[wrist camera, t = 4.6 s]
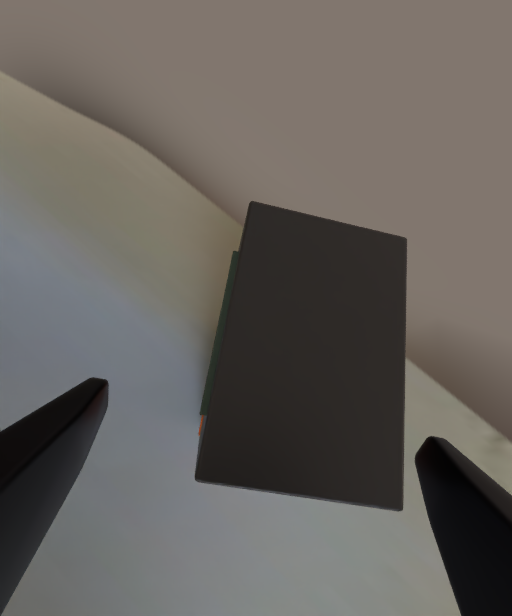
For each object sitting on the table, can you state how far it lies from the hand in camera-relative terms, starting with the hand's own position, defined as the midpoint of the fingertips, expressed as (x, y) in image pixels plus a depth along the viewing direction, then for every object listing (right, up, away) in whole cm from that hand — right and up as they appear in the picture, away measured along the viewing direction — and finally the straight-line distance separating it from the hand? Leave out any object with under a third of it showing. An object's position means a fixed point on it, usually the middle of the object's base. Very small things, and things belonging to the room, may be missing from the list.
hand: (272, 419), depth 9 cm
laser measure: (-1, -1, +9) cm, 9 cm away
